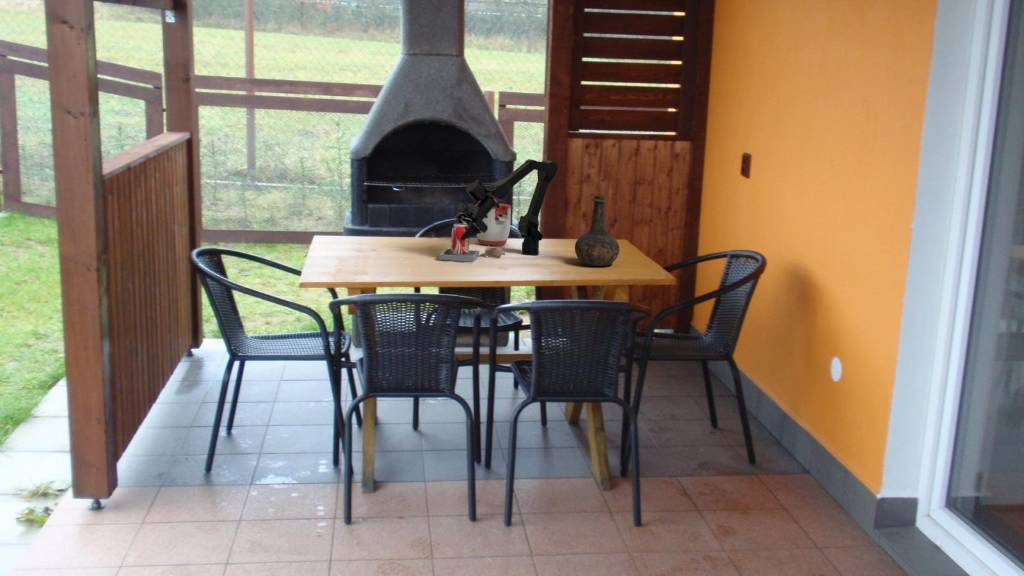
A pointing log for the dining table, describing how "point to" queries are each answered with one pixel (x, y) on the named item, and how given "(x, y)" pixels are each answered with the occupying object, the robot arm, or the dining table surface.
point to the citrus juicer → (496, 226)
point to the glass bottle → (597, 239)
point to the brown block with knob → (494, 252)
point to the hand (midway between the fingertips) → (457, 238)
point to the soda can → (459, 240)
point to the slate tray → (449, 256)
